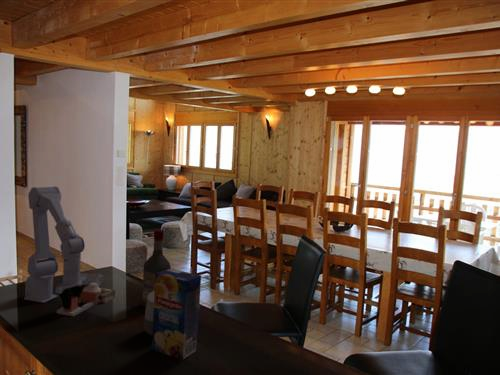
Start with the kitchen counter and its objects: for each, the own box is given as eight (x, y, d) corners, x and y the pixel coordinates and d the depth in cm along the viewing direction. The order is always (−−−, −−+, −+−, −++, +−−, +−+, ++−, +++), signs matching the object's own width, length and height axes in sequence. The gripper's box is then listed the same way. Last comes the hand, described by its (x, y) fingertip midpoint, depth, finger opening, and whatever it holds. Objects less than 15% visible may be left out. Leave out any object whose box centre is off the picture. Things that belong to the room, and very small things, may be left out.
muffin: (91, 303, 166) (92, 285, 165) (80, 300, 169) (81, 282, 168) (104, 299, 171) (104, 282, 171) (93, 295, 174) (94, 279, 174)
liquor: (156, 311, 162) (159, 234, 159) (138, 306, 167) (141, 230, 164) (171, 305, 170) (175, 230, 167) (154, 299, 174) (158, 227, 172)
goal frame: (77, 298, 170) (77, 291, 170) (88, 292, 177) (88, 285, 177) (105, 303, 167) (105, 295, 167) (114, 297, 174) (115, 290, 174)
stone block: (96, 292, 184) (105, 281, 193) (95, 282, 182) (104, 271, 192) (69, 291, 185) (80, 279, 194) (68, 281, 183) (79, 270, 193)
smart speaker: (138, 335, 142) (139, 294, 140) (154, 325, 150) (155, 286, 149) (162, 341, 138) (164, 299, 137) (177, 330, 147) (179, 291, 145)
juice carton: (197, 350, 134) (201, 275, 131) (182, 360, 127) (186, 281, 125) (167, 340, 139) (170, 268, 137) (151, 348, 133) (155, 273, 130)
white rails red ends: (55, 313, 155) (55, 298, 154) (79, 300, 168) (79, 287, 168) (74, 316, 153) (75, 301, 152) (97, 303, 166) (97, 290, 166)
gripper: (68, 277, 147) (67, 315, 149) (93, 266, 161) (92, 301, 163) (50, 274, 149) (49, 312, 150) (77, 264, 163) (76, 298, 164)
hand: (70, 306), depth 157 cm, fingers open, 4 cm apart
